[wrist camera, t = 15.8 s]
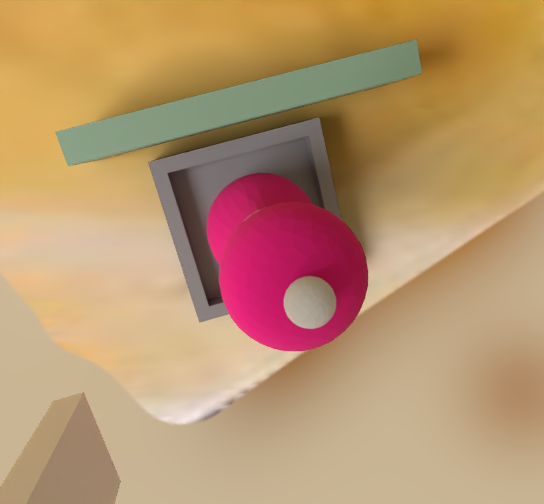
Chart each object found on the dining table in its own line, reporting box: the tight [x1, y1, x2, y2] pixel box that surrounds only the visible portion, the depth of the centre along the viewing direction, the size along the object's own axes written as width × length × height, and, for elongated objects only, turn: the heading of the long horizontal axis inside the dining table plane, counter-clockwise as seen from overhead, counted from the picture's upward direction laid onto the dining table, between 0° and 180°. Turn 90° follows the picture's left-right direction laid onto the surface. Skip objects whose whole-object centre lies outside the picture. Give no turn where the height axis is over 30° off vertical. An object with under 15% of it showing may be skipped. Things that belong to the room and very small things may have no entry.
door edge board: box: [56, 40, 422, 166], centre depth 30 cm, size 22×2×6 cm, turn 104°
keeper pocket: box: [148, 118, 341, 322], centre depth 34 cm, size 12×12×2 cm
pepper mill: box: [207, 173, 368, 351], centre depth 24 cm, size 7×7×20 cm
